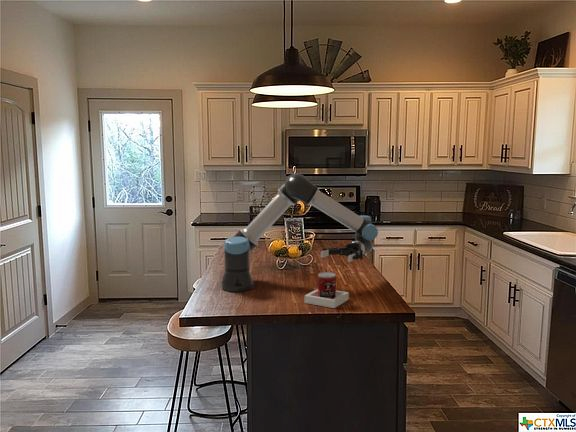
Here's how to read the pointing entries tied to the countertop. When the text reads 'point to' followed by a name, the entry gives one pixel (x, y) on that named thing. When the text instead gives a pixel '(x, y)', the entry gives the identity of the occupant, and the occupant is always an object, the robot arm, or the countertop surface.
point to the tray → (331, 303)
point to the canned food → (327, 285)
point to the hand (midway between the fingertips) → (334, 256)
